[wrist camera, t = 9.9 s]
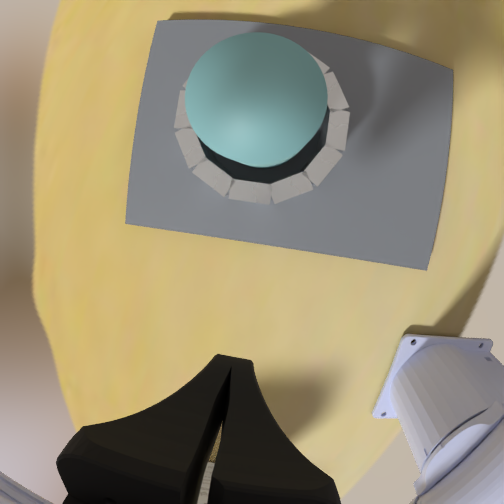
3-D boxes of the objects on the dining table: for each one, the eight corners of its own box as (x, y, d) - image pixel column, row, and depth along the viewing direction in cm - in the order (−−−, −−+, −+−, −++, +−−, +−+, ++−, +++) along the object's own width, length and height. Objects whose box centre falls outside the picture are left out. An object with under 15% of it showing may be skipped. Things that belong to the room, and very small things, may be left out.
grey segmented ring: (343, 72, 17) (355, 55, 14) (325, 208, 19) (334, 215, 16) (203, 54, 17) (191, 35, 14) (182, 188, 19) (165, 190, 16)
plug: (311, 94, 17) (334, 43, 10) (299, 174, 18) (317, 174, 11) (228, 83, 17) (198, 28, 10) (215, 162, 19) (175, 154, 11)
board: (446, 73, 17) (453, 69, 16) (420, 266, 20) (426, 270, 19) (162, 26, 18) (157, 20, 17) (131, 221, 21) (125, 223, 20)
